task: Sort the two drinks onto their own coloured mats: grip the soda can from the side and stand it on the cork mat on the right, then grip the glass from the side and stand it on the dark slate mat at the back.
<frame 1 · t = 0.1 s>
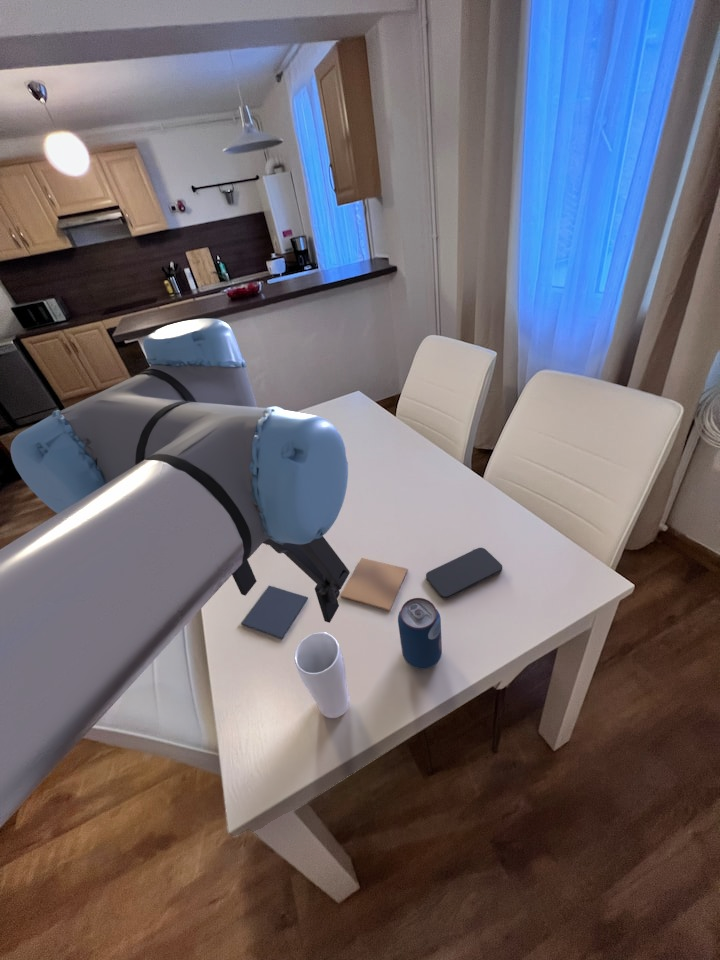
hand: (288, 600, 55), 24 cm above the table, tool pointing down, fingers open, 13 cm apart
cork mat: (374, 583, 85), on the table
soda can: (422, 654, 71), on the table
fruit slice: (274, 492, 118), on the table
slate mat: (275, 611, 83), on the table
phone: (463, 573, 84), on the table
drinking glass: (334, 703, 67), on the table
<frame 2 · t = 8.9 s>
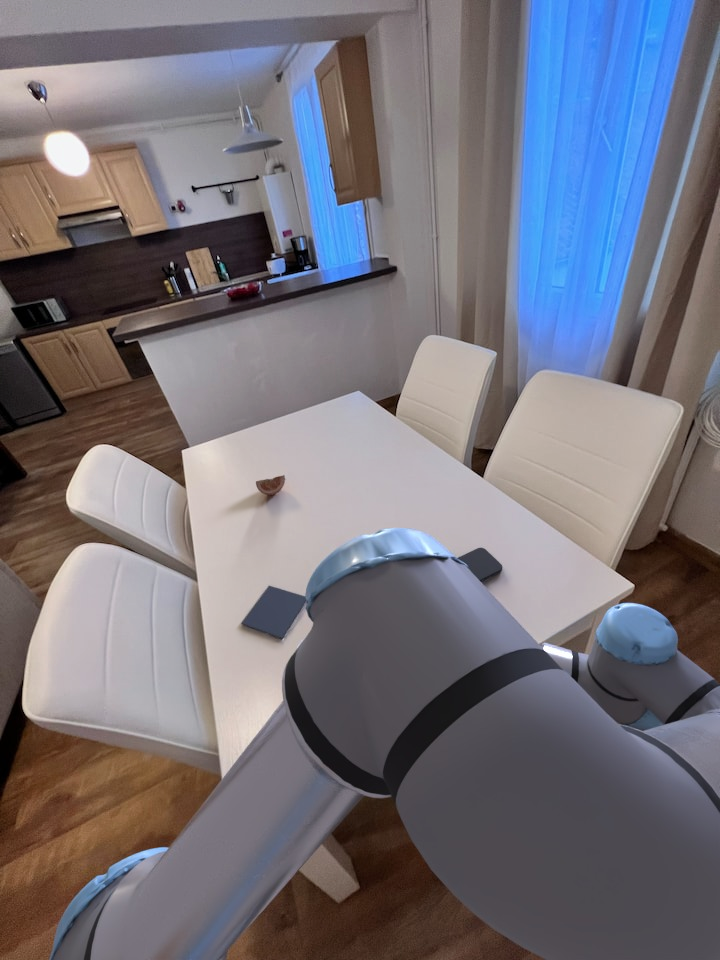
hand: (392, 623, 70), 7 cm above the table, tool horizontal, fingers closed on soda can, 7 cm apart
soda can: (422, 654, 71), on the table, touching gripper
everything else where it was.
when the fingers open (8 cm above the table, at t = 37.9 s): soda can stays where it is, resting on cork mat.
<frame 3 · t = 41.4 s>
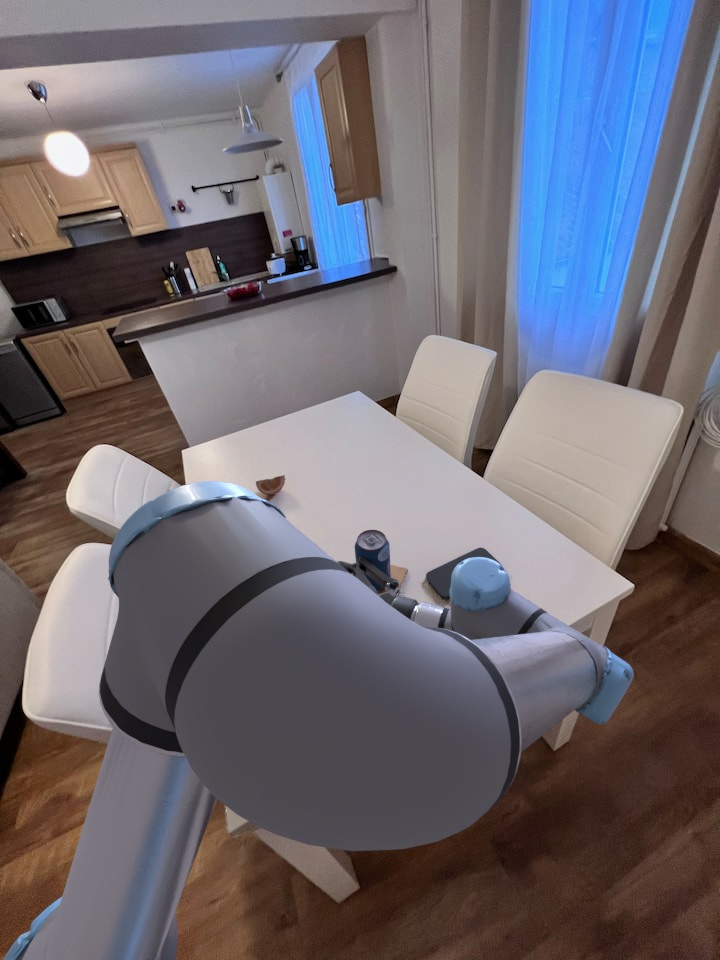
hand: (302, 591, 73), 10 cm above the table, tool horizontal, fingers open, 13 cm apart
soda can: (374, 581, 85), point 1 cm above the table, touching cork mat, gripper
drinking glass: (275, 610, 83), resting on slate mat
everything else where it was.
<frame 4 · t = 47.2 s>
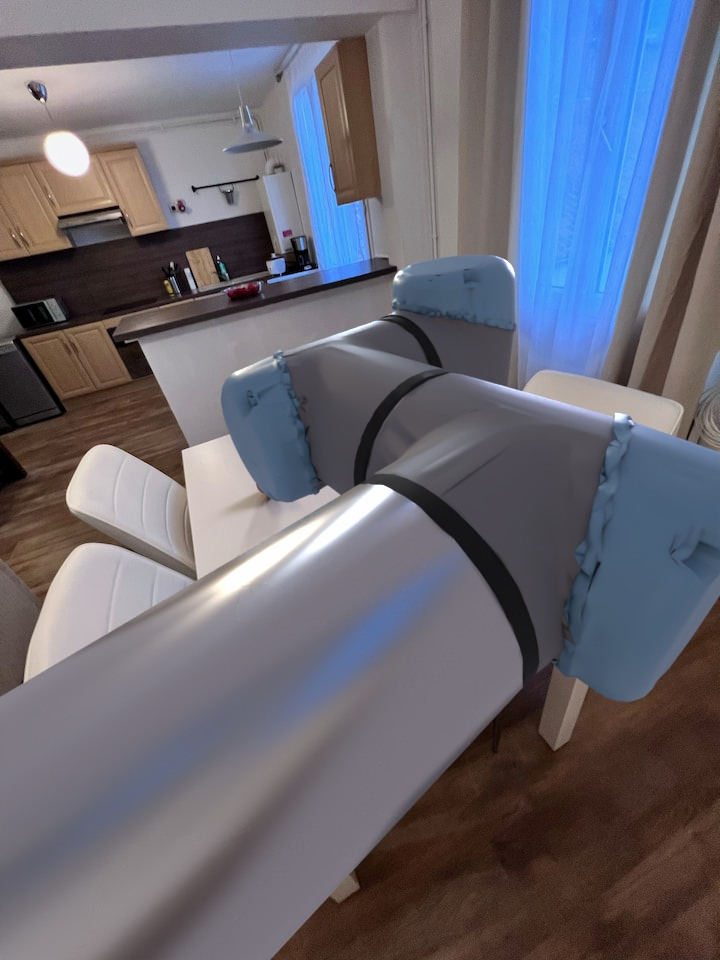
hand: (453, 623, 45), 27 cm above the table, tool pointing down, fingers open, 13 cm apart
soda can: (374, 582, 85), resting on cork mat
everything else where it was.
at the end: drinking glass inside the target area on the slate mat (0.0 cm from its centre), point 0.3 cm above the slate mat's base; soda can inside the target area on the cork mat (0.0 cm from its centre), point 0.3 cm above the cork mat's base; drinking glass tilted 0° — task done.
